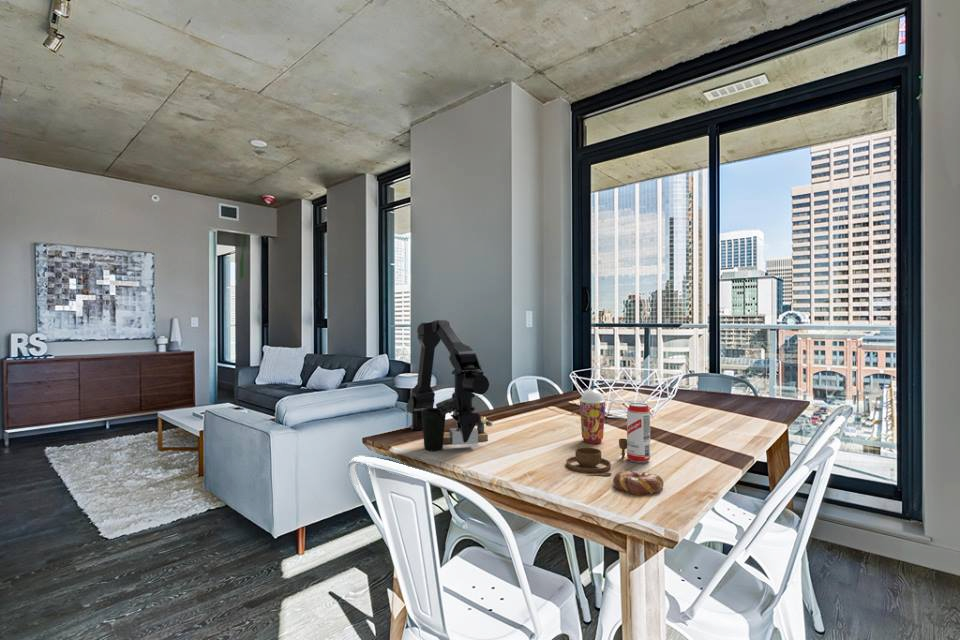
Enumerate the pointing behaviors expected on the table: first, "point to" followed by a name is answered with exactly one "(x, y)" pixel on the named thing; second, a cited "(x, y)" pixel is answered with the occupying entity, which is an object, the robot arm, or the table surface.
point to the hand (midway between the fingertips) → (463, 440)
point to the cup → (433, 429)
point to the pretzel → (638, 482)
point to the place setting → (593, 459)
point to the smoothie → (592, 415)
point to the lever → (486, 421)
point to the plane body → (481, 434)
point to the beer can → (638, 432)
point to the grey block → (457, 437)
